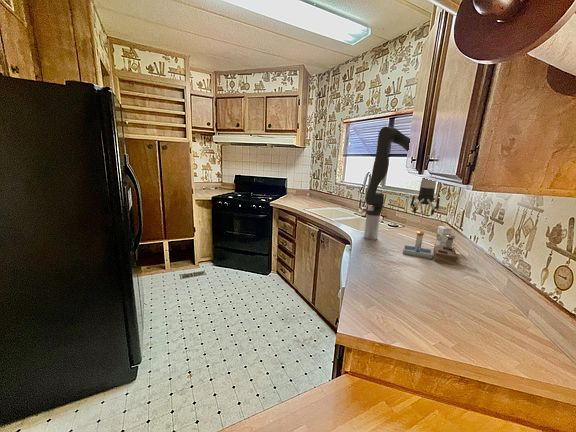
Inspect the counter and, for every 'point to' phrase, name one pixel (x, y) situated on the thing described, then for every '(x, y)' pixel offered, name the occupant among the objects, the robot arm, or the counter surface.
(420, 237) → the pin
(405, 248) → the tray
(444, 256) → the wooden socket block
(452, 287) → the counter surface
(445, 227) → the syrup box
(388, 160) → the robot arm
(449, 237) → the pin
